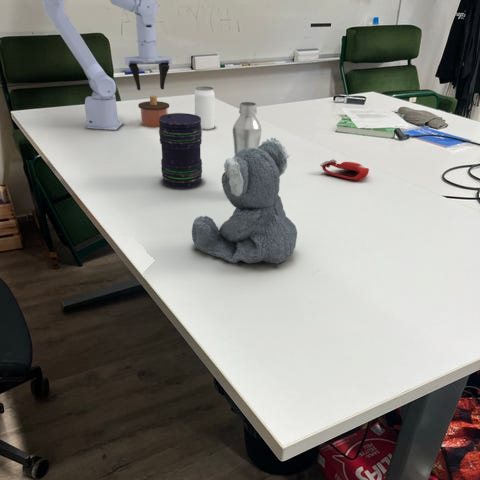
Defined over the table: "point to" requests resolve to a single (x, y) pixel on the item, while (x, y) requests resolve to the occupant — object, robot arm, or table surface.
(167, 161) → the storage jar
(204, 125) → the can
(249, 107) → the silver metal bottle
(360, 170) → the tracker holder
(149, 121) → the cup
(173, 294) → the table surface
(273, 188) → the koala plush
